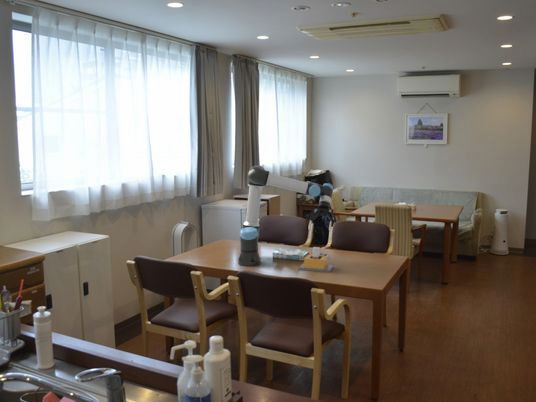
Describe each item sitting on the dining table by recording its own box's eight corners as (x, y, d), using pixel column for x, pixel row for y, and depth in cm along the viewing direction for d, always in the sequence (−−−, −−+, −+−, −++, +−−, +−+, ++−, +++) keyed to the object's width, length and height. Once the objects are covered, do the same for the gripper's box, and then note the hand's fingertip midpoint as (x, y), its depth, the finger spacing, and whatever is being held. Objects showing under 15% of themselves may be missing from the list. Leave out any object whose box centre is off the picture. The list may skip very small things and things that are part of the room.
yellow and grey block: (298, 269, 318) (298, 258, 317) (303, 265, 329) (303, 253, 328) (329, 272, 311) (329, 260, 310) (333, 267, 323) (333, 256, 322)
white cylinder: (312, 266, 319) (312, 248, 317) (313, 265, 323) (313, 247, 321) (318, 267, 318) (318, 248, 316) (319, 265, 321) (320, 247, 320)
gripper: (343, 207, 336) (339, 234, 324) (307, 206, 344) (301, 232, 332) (342, 201, 330) (337, 227, 318) (305, 199, 338) (299, 225, 326)
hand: (319, 230), depth 325 cm, fingers open, 13 cm apart
